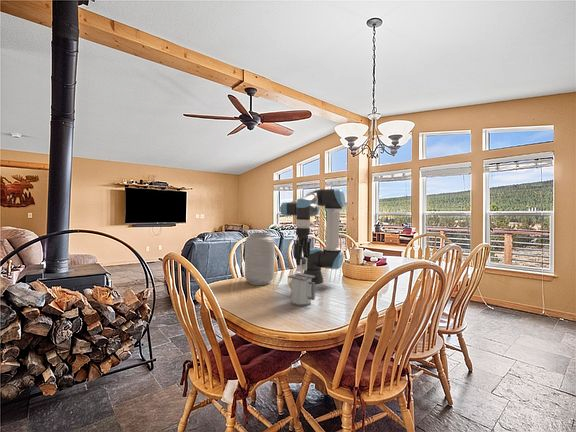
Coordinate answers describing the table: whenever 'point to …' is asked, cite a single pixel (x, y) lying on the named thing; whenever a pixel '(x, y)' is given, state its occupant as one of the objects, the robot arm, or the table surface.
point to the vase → (259, 258)
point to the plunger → (302, 264)
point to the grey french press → (302, 289)
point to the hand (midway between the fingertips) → (301, 270)
